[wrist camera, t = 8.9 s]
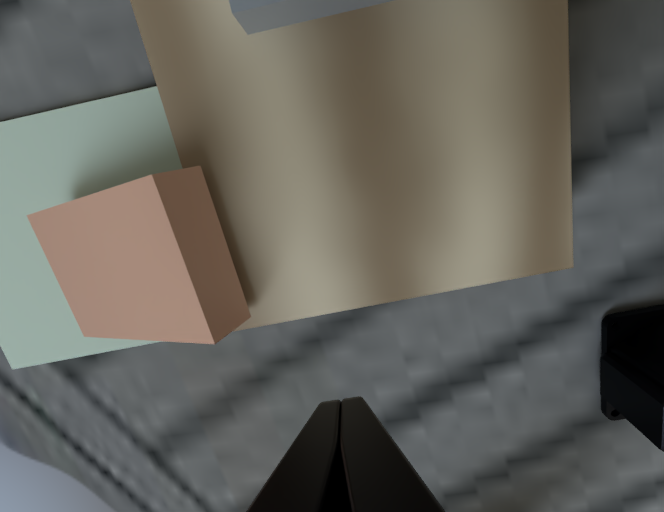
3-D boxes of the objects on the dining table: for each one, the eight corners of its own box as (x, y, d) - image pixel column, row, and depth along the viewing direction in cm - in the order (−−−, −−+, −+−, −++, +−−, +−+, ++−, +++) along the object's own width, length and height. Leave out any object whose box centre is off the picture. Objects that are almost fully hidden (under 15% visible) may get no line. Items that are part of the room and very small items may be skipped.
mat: (191, 79, 16) (189, 78, 16) (260, 320, 20) (259, 322, 19) (-96, 145, 17) (-103, 145, 17) (16, 366, 20) (12, 369, 20)
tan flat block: (494, -223, 13) (560, -374, 10) (522, 243, 18) (573, 267, 14) (132, -128, 14) (58, -230, 10) (253, 294, 19) (233, 331, 15)
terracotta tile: (200, 165, 13) (151, 174, 11) (251, 316, 14) (214, 344, 13) (74, 204, 17) (26, 215, 16) (122, 316, 19) (84, 336, 17)
